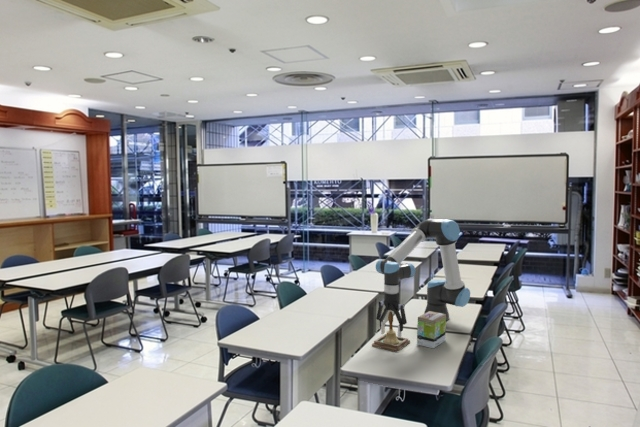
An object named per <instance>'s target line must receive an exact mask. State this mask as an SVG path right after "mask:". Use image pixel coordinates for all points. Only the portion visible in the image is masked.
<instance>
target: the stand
mask: <svg viewBox="0 0 640 427" xmlns="http://www.w3.org/2000/svg"><path fill="white" fill-rule="evenodd" d="M386 335H387V333H384V334H382V335H381V336H380V337H378V338H377V339H375V340H374V341H373V343H372V344H371V346H372V347H373V348H377V349H382V350H385V351H390V352H395V353H398V352H399V351H400V350H402V349H403V348H405V347H406V346H407V345H409V344H410V343H411V340H409V338H406V337H402V336H401V337H400V338H398V335H396V338H397V339H398V340H399V343H398V344H395V345H393V344H388V343H384V342H383V340H384V339H385V338H386Z"/></svg>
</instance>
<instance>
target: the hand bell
mask: <svg viewBox="0 0 640 427" xmlns="http://www.w3.org/2000/svg"><path fill="white" fill-rule="evenodd" d="M387 320H388V323H389V325H388V326H389V329H388V330H387V331H386V334H387V335H386V338H385V339H384V340H383V342H384V343H388V344H393V345H395V344H398V343H399V340H398V339H397V338H396V336H397V335H396V331H395V330H393V322H394V314H393V311H391V310H389V312H388V315H387Z"/></svg>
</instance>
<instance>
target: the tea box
mask: <svg viewBox="0 0 640 427" xmlns="http://www.w3.org/2000/svg"><path fill="white" fill-rule="evenodd" d="M446 327H447V320H446V314H442V313H437V312H432V311H429V312H427V313H425V314H424V313H423V314H421V315H420V316H418V317H417V329H416V330H417V332H416V334H417V335H416V337H417V338H416V345H417V346H422V347H427V348H431V349H435V348H437V347H438V346H439V345H441V344H442V343H444V342H446V331H447V330H446V329H447V328H446Z"/></svg>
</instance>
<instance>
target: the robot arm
mask: <svg viewBox="0 0 640 427" xmlns="http://www.w3.org/2000/svg"><path fill="white" fill-rule="evenodd" d="M460 234H461V231H460V226H459V224H458V223H457V222H456V221H455V220H453V219H446V218H445V219H444V218H442V219H441V218H433V217H431V218H427V219H424V220H423V221H421V222H420V223H417V224H416V226H414V227H413V229H411V232H410V234H409V235H408V236H407V237H406V238H405V239H404V240H403V241H402V242H400V244H399V245H398V246H397V247H395V249H394V250H393V251H392V252H391V253H390V254H389V255H388V256H387V257H386V258H385V259H379V260H377V262H376V263H375V270H376V272H377V273H378V274H382V275H383V277H384V278H383V280H384V281H383V287H384V288H383V289H384V290H383V291H384V293H383V299H384V301H383V300H380V301H378V307H377V308H378V309H377V314H376V318H375V319H376V320H378V322H379V327H380V335H385V334H386V333H385V332H386V326H385V325H386V322H385V317H386V316H387V313H389V312H388V311H391V312H393V313H394V316H395V317H396V320H397V322H398V325H397V337H398V338H400V337H402V332H403V331H404V325H406V324H408V322H407V317H406V311H405V304H401V303H400V280H405V279H409V278H412V277H414V276H415V275H416V267H415V265H414V264H413V263H411V262H410V263H407V262H406V263H403V261H404V260H405V259H406V258H407V257H409V255H410V254H411V253H412V252H413V251H414V250H415V249H416V248H417V247H418V246H419V245H420V244H421V243H424V242H425V241H427V240H428V239H434V240H435V244H436V245H437V246H439V250H440V257H441V262H442V268H443V273H444V278H445V279H433V280H430V281H428V282H427V286H426V307H425V310H424V313H423V314H425V313H427V312H429V311H432V312H437V313H442V314H446V321H447V320H449V319H450V313H449V310H448V306H447V305H451V306H455V307H460V308H461V307H462V308H463V307H465V306H466V305H467V304H468V303H469V301H470V300H471V299H470V298H471V290H470V289H469V288H468V287H466V285H465V282H464V281H463V280H462V277H461V272H460V267H459V266H460V265H459V260H458V255H457V249H456V243H458V242H457V241H458V239H459V237H460ZM383 307H384V308H383ZM382 311H383V312H382Z"/></svg>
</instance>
